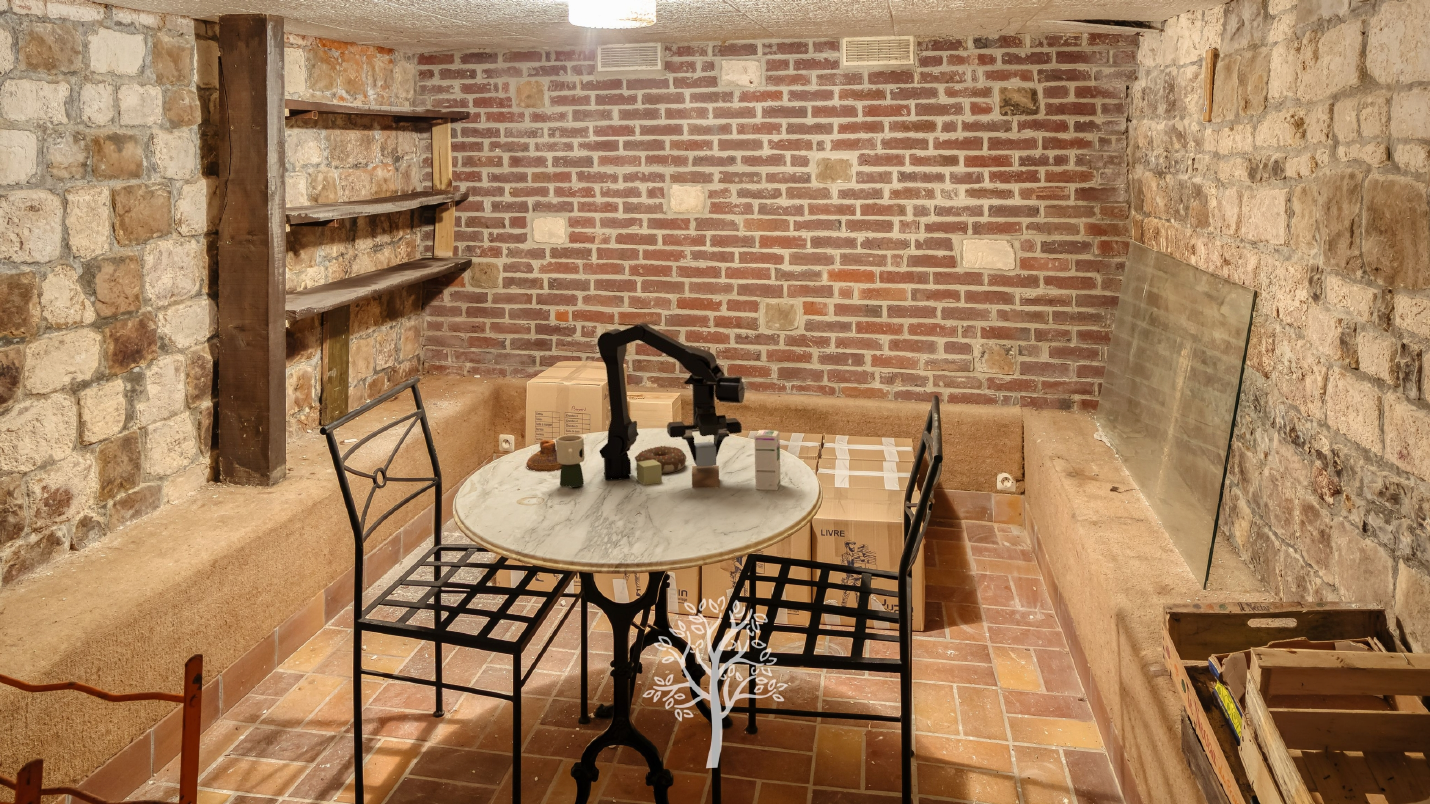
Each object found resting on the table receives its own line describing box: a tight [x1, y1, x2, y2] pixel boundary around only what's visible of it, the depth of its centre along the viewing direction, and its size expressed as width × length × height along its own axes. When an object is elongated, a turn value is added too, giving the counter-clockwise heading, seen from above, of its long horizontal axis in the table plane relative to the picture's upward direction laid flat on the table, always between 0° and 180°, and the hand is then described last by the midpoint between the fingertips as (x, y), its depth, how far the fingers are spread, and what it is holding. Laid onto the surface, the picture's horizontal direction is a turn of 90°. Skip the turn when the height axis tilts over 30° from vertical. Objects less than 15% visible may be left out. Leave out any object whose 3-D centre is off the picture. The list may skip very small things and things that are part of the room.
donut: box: [634, 445, 687, 474], centre depth 278 cm, size 14×14×5 cm
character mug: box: [555, 434, 585, 488], centre depth 262 cm, size 11×7×13 cm, turn 9°
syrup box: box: [754, 429, 781, 491], centre depth 259 cm, size 6×6×14 cm
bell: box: [526, 439, 562, 472], centre depth 281 cm, size 12×12×7 cm
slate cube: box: [693, 441, 717, 467], centre depth 262 cm, size 5×5×5 cm
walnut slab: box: [691, 465, 720, 489], centre depth 264 cm, size 7×7×4 cm
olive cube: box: [635, 460, 663, 486], centre depth 266 cm, size 5×5×5 cm
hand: (704, 459), depth 262 cm, fingers closed on slate cube, 5 cm apart
